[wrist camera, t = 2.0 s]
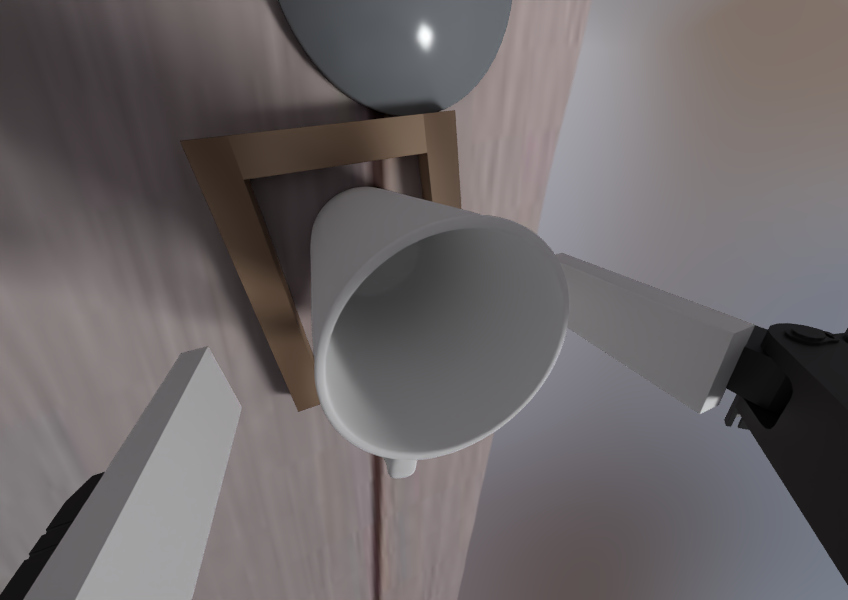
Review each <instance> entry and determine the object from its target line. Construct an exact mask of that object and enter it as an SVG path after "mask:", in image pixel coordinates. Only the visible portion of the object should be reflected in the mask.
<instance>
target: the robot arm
mask: <svg viewBox="0 0 848 600" xmlns="http://www.w3.org/2000/svg"><path fill="white" fill-rule="evenodd" d="M556 257H557V259H558V261H559V263H560V265H561V267H562V269H563V272H564V274H565V278H566V282H567V286H568V293H569V319H568V326H567V328H569V329H570V330H572V331H573V332H575V333H577V334H578V335H579V336H581V337H583V338H584V339H585V340H587V341H588V342H590V343H592V344H593V345H595V346H596V347H598V348H599V349H601V350H602V351H604V352H605V353H607V354H608V355H610V356H612V357H613V358H615V359H616V360H618V361H619V362H621V363H622V364H624V365H625V366H627V367H628V368H630V369H631V370H633V371H634V372H636V373H638V374H639V375H641V376H642V377H644V378H645V379H647V380H648V381H650V382H652V383H653V384H654V385H656V386H658V387H659V388H661V389H662V390H664V391H665V392H667V393H668V394H670V395H671V396H673V397H675V398H676V399H677V400H679V401H680V402H682V403H683V404H685V405H687V406H688V407H690V408H691V409H693V410H694V411H696V412H697V413H699V414H701V413H703V412H705V411H707V410H709V409H711V408H713V407H715V406H718V405H719V403H720V401H721V399H722V397H723V394H724V392H725V390H726V388H727V389H729V390H731V391H732V392H734V393H736V394H737V395H736V397H735V399H734V401H733V403H732V405H731V407H730V409H729V411H728V413H727V415H726V417H725V424H726V426H731V425H732V423H733V421H734V419H735V418H736V417H739V416H741V417H742V418H741V420H740V422H739V424H738V428H742V429H748V430H750V431H751V433H752V434H753V436H754V438H755V439H756V441H757V442H758V444H759V445H760V447H761V448H762V450H763V452H764V453H765V455H766V457H767V458H768V460H769V461H770V463H771V464H772V466H773V468H774V469H775V471H776V472H777V474H778V475H779V477H780V479H781V480H782V482H783V483H784V485H785V486H786V488H787V490H788V491H789V493H790V495H791V496H792V498H793V499H794V501H795V502H796V504H797V506H798V507H799V508H800V510H801V512H802V513H803V515H804V517H805V518H806V520H807V521H808V523H809V525H810V526H811V528H812V529H813V531H814V532H815V534H816V536H817V537H818V539H819V540H820V542H821V544H822V545H823V546H824V548H825V550H826V551H827V553H828V555H829V556H830V558H831V559H832V561H833V562H834V564H835V566H836V567H837V569H838V570H839V572H840V573H841V575H842V577H843V578H844V580H845V581H846V583H847V585H848V328H847V330H846V332H845V333H839V334H832V333H830V332H826V331H823V330H820V329H817V328H813V327H809V326H804V325H798V324H788V323H785V324H775V325H772V326H770V327H769V329H768V330H767V329H764V328H761V327H758V326H756V325H754V324H751V323H748V322H746V321H743V320H741V319H738V318H735V317H733V316H730V315H727V314H725V313H722V312H719V311H716V310H714V309H711V308H708V307H706V306H703V305H700V304H698V303H695V302H692V301H690V300H687V299H684V298H682V297H679V296H676V295H674V294H671V293H668V292H665V291H663V290H660V289H658V288H655V287H652V286H650V285H647V284H644V283H641V282H639V281H636V280H633V279H631V278H628V277H625V276H623V275H620V274H617V273H615V272H612V271H609V270H606V269H604V268H601V267H598V266H596V265H593V264H590V263H588V262H585V261H582V260H580V259H577V258H574V257H572V256H569V255H566V254H564V253H560V254H556ZM241 409H242V406H241V405H240V403H239V401H238V399H237V397H236V396H235V394H234V392H233V390H232V388H231V387H230V385H229V383H228V381H227V379H226V378H225V376H224V374H223V372H222V370H221V369H220V367H219V365H218V363H217V361H216V360H215V358H214V356H213V354H212V352H211V351H210V349H209V347H208V346H207V347H203V348H199V349H195V350H192V351H188V352H184V353H181V354H180V356H179V358H178V359H177V361H176V362H175V364H174V365H173V367H172V369H171V370H170V372H169V373H168V375H167V376H166V378H165V379H164V381H163V383H162V384H161V386H160V387H159V389H158V390H157V392H156V393H155V395H154V397H153V398H152V400H151V401H150V403H149V404H148V406H147V407H146V409H145V411H144V412H143V414H142V415H141V417H140V418H139V420H138V422H137V423H136V425H135V426H134V428H133V429H132V431H131V432H130V434H129V436H128V437H127V439H126V440H125V442H124V443H123V445H122V446H121V448H120V450H119V451H118V453H117V454H116V456H115V457H114V459H113V460H112V462H111V464H110V465H109V467H108V468H107V470H106V471H105V472H103V473H100V474H97V475H94V476H92V477H91V478H90V479H89V480H88V481H86V482H85V483H84V484H83V485H82V486H81V487H80V488H79V489H78V490H77V491H76V492H75V493H74V494H73V495H72V496H71V497H70V498H69V499H68V500H67V501H66V502H65V503H64V505H63V506H62V508H61V509H60V510H59V512H58V513H57V515H56V516H55V517H54V519H53V520H52V522H51V523H50V525H49V526H48V527H47V529H46V531H47V532H46V534H45V535H42V536H41V537H40V539H39V540H38V542H37V543H36V545H35V546H34V547H33V549H32V550H31V552H30V553H29V555H30V557H29V559H27V560H24V562H23V563H22V565H21V566H20V567H19V569H18V570H17V572H16V573H15V575H14V576H13V577H12V579H11V580H10V582H9V583H8V585H7V586H6V587H5V589H4V590H3V592H2V593H1V595H0V600H192V597H193V593H194V590H195V586H196V582H197V578H198V574H199V570H200V566H201V563H202V559H203V555H204V551H205V547H206V543H207V540H208V536H209V532H210V528H211V524H212V520H213V516H214V513H215V509H216V505H217V501H218V497H219V493H220V490H221V486H222V482H223V478H224V474H225V470H226V466H227V463H228V459H229V455H230V451H231V447H232V443H233V440H234V436H235V432H236V428H237V424H238V420H239V416H240V413H241Z"/></svg>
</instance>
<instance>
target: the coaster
mask: <svg viewBox="0 0 848 600" xmlns="http://www.w3.org/2000/svg"><path fill="white" fill-rule="evenodd" d="M278 2H279V4H280V7H281V9H282V11H283V14H284V16H285V19H286V20H287V22H288V24H289V26H290V28H291V30H292V32H293V34H294V36H295V37H296V39H297V41H298V42H299V44H300V45H301V47H302V48H303V50H304V51H305V53H306V54H307V56H308V57H309V58H310V60H311V61H312V62H313V63H314V65H315V66H316V67H317V68H318V70H319V71H320V72H321V73H322V74H323V75H324V76H325V77H326V78H327V79H328V80H329V81H330V82H331V83H332V84H333V85H334V86H335V87H336V88H338V89H339V90H340V91H341V92H343V93H344V94H345V95H346V96H348V97H349V98H351V99H352V100H354V101H356V102H357V103H359V104H361V105H362V106H364V107H367V108H369V109H371V110H373V111H376V112H379V113H382V114H386V115H389V116H396V117H399V116H408V115H417V114H426V113H435V112H438V111H441V110H443V109H446V108H448V107H450V106H451V105H453V104H455V103H457V102H458V101H459V100H461V99H462V98H463V97H465V96H466V95H467V94H468V93H469V92H470V91H471V90H472V89H473V88H474V87H475V86H476V85H477V84H478V83H479V82H480V80H481V79H482V78H483V76H484V75H485V74H486V72H487V71H488V69H489V67H490V65H491V64H492V62H493V60H494V59H495V56H496V54H497V52H498V50H499V47H500V45H501V43H502V40H503V37H504V34H505V31H506V27H507V24H508V19H509V15H510V10H511V4H512V0H278Z"/></svg>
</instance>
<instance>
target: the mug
mask: <svg viewBox="0 0 848 600" xmlns="http://www.w3.org/2000/svg"><path fill="white" fill-rule="evenodd" d="M310 258H311V317H312V342H313V351H314V360H315V362H314V377H315V385H316V390H317V395H318V398H319V401H320V404H321V407H322V409H323V411H324V413H325V415H326V417H327V418H328V420H329V421H330V423H331V424H332V426H333V427H334V428H335V429H336V430H337V432H338V433H339V434H340V435H341V436H343V437H344V438H345V439H346V440H347V441H349V442H350V443H352V444H353V445H355V446H356V447H358V448H360V449H362V450H364V451H366V452H369V453H371V454H374V455H377V456H381V457H383V458H384V460H385V462H386V465H387V470H388V474H389V475H390V477H392V478H404V477H408V476H410V475H412V474H413V473H414V471H415V469H416V463H417V460H422V459H430V458H435V457H439V456H443V455H447V454H450V453H453V452H456V451H458V450H461V449H463V448H466V447H468V446H470V445H472V444H474V443H476V442H478V441H480V440H482V439H484V438H485V437H487V436H489V435H490V434H492V433H493V432H495V431H496V430H498V429H499V428H500V427H502V426H503V425H504V424H506V423H507V422H508V421H509V420H511V419H512V418H513V417H514V416H515V415H516V414H517V413H518V412H519V411H520V410H522V409H523V407H524V406H525V405H526V404H527V403H528V402H529V401H530V400H531V399H532V397H533V396H534V395H535V394H536V393H537V391H538V390H539V389H540V387H541V386H542V385H543V383H544V382H545V380H546V378H547V377H548V375H549V374H550V372H551V370H552V368H553V366H554V364H555V362H556V360H557V358H558V356H559V353H560V351H561V348H562V345H563V342H564V339H565V335H566V331H567V326H568V319H569V293H568V286H567V282H566V278H565V274H564V272H563V269H562V267H561V265H560V263H559V261H558V259H557V257H556V255H555V254H554V252H553V251H552V250H551V249H550V247H549V246H548V245H547V244H546V243H545V242H544V241H543V240H542V239H541V238H540V237H539V236H538V235H536V234H535V233H534V232H532V231H531V230H529V229H528V228H526V227H524V226H522V225H520V224H518V223H516V222H514V221H511V220H508V219H505V218H501V217H496V216H488V215H480V214H477V213H474V212H470V211H466V210H463V209H459V208H455V207H451V206H447V205H443V204H439V203H435V202H431V201H427V200H423V199H419V198H415V197H411V196H408V195H404V194H400V193H397V192H393V191H389V190H384V189H380V188H375V187H356V188H352V189H348V190H346V191H343V192H341V193H339V194H337V195H336V196H334V197H333V198H332V199H330V200H329V201H328V202H327V203H326V204H325V205H324V206H323V208H322V209H321V210H320V212H319V214H318V215H317V217H316V219H315V222H314V225H313V228H312V233H311V247H310Z"/></svg>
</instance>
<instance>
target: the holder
mask: <svg viewBox="0 0 848 600" xmlns="http://www.w3.org/2000/svg"><path fill="white" fill-rule="evenodd" d="M180 142H181V145H182V147H183V149H184V152H185V154H186V156H187V158H188V161H189V163H190V165H191V168H192V170H193V172H194V174H195V177H196V179H197V181H198V184H199V186H200V188H201V190H202V193H203V195H204V197H205V200H206V202H207V204H208V206H209V209H210V211H211V213H212V216H213V218H214V220H215V222H216V225H217V227H218V229H219V232H220V234H221V236H222V238H223V241H224V243H225V245H226V248H227V250H228V252H229V254H230V257H231V259H232V261H233V264H234V266H235V268H236V270H237V273H238V275H239V277H240V279H241V282H242V284H243V286H244V289H245V291H246V293H247V295H248V298H249V300H250V302H251V305H252V307H253V309H254V311H255V314H256V316H257V318H258V321H259V323H260V325H261V327H262V330H263V332H264V334H265V337H266V339H267V341H268V343H269V346H270V348H271V350H272V353H273V355H274V357H275V359H276V362H277V364H278V366H279V369H280V371H281V373H282V375H283V378H284V380H285V382H286V385H287V387H288V389H289V391H290V394H291V396H292V398H293V401H294V403H295V405H296V407H297V410H298V412H299V411H302V410H305V409H308V408H311V407H314V406H317V405H320V401H319V398H318V395H317V390H316V385H315V377H314V362H315V360H314V357H313V354H312V351H311V348H310V346H309V343H308V340H307V337H306V335H305V332H304V329H303V326H302V324H301V321H300V318H299V315H298V313H297V310H296V307H295V304H294V302H293V299H292V296H291V293H290V291H289V288H288V285H287V282H286V280H285V277H284V274H283V271H282V268H281V266H280V263H279V260H278V257H277V255H276V252H275V249H274V246H273V244H272V241H271V238H270V235H269V233H268V230H267V227H266V224H265V222H264V219H263V216H262V213H261V211H260V208H259V205H258V202H257V200H256V197H255V194H254V191H253V189H252V186H251V183H250V180H249V179H253V178H260V177H266V176H273V175H280V174H287V173H294V172H300V171H307V170H314V169H321V168H327V167H334V166H341V165H348V164H355V163H361V162H368V161H375V160H382V159H388V158H395V157H402V156H409V155H415V154H418V161H419V170H420V178H421V186H422V195H423V200H427V201H431V202H435V203H439V204H443V205H447V206H451V207H455V208H459V209H461V195H460V180H459V164H458V148H457V133H456V117H455V110H453V111H444V112H435V113H426V114H417V115H408V116H399V117H390V118H381V119H372V120H363V121H354V122H345V123H336V124H327V125H318V126H309V127H300V128H291V129H282V130H273V131H264V132H255V133H246V134H237V135H229V136H220V137H211V138H202V139H193V140H184V141H180Z"/></svg>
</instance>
